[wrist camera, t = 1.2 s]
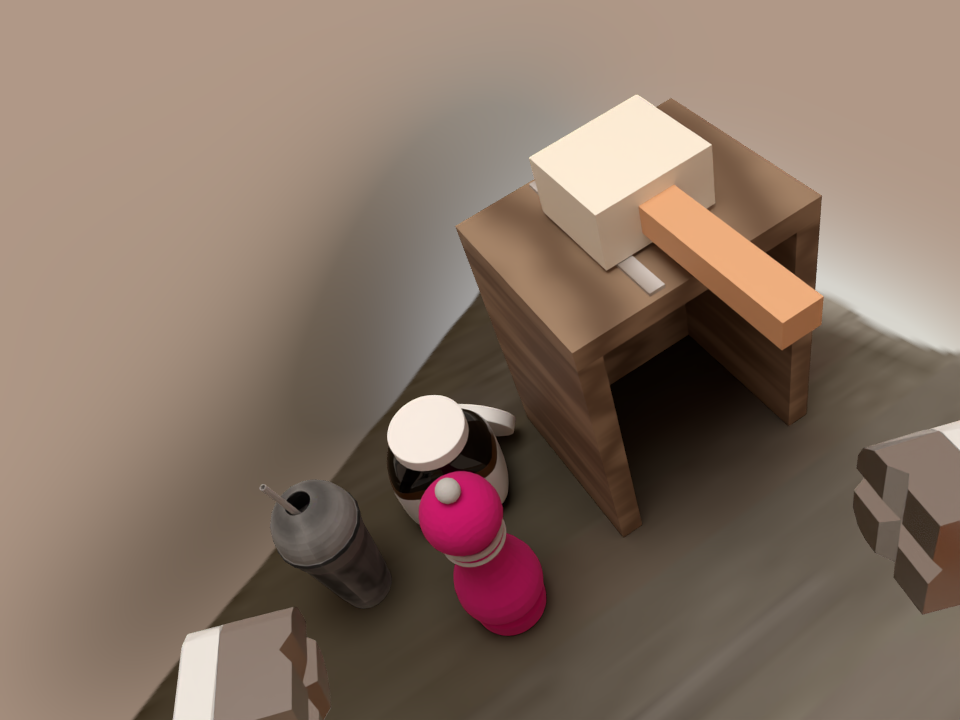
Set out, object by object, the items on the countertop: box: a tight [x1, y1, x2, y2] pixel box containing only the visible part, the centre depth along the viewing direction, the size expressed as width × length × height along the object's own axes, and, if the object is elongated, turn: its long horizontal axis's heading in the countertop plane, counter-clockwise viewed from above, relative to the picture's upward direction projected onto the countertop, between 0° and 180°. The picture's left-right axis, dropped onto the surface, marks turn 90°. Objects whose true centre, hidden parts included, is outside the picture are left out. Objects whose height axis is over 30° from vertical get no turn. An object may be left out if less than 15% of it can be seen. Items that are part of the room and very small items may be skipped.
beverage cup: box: [260, 480, 391, 609], centre depth 69 cm, size 7×7×20 cm
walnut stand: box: [456, 99, 822, 537], centre depth 70 cm, size 20×16×26 cm
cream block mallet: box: [529, 95, 823, 350], centre depth 54 cm, size 9×21×5 cm, turn 30°
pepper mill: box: [419, 471, 546, 636], centre depth 65 cm, size 7×7×20 cm
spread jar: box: [387, 395, 516, 524], centre depth 77 cm, size 12×11×12 cm
